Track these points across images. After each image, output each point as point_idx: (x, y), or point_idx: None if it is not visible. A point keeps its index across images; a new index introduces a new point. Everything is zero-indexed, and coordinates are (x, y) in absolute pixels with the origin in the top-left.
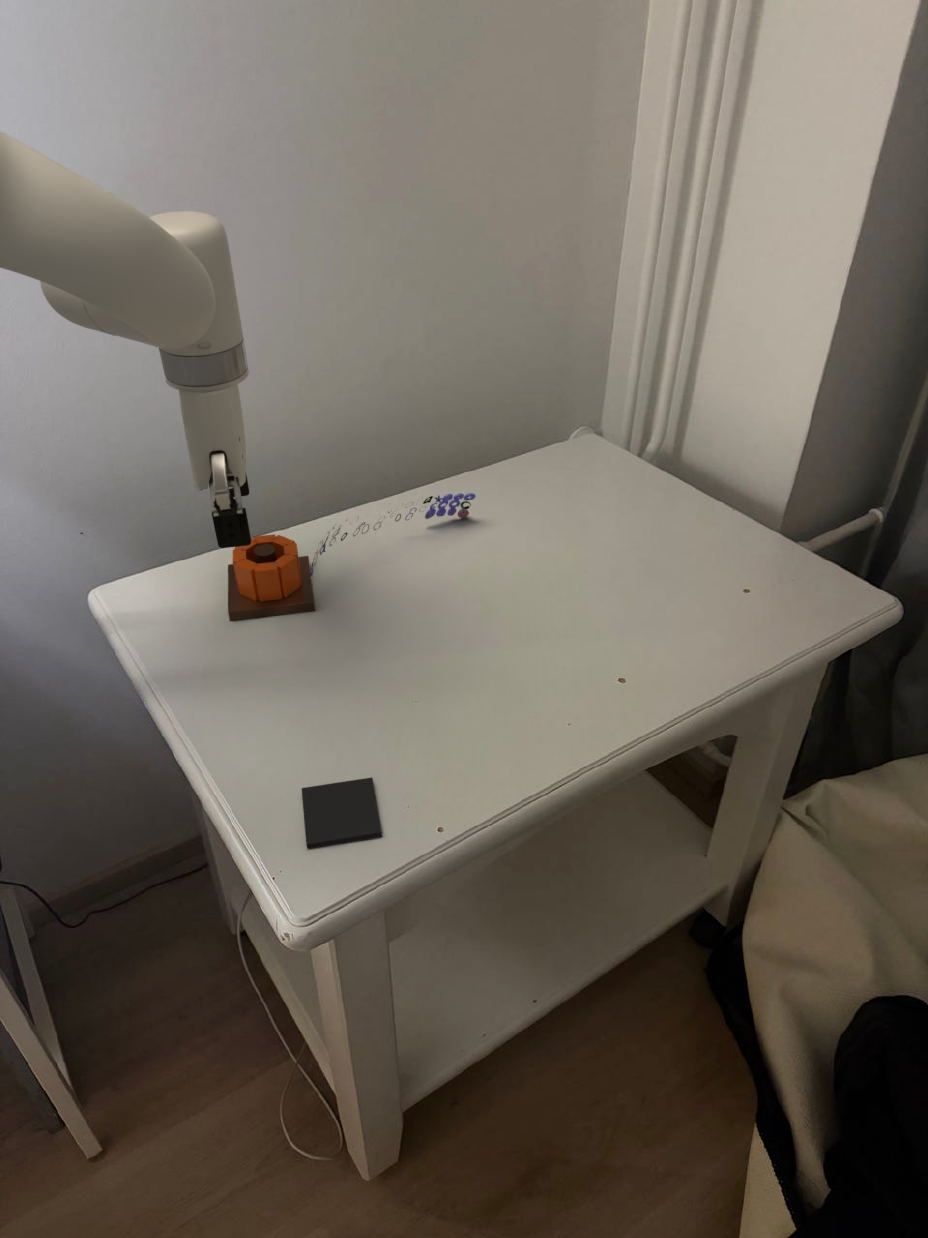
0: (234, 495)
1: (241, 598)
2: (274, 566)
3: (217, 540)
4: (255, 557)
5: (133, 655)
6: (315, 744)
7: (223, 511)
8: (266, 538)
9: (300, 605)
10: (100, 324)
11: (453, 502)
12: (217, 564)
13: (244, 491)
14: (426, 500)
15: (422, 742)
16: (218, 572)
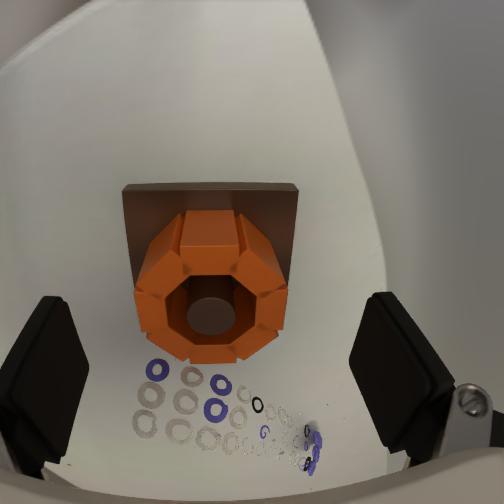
0: (360, 334)
1: (163, 216)
2: (150, 327)
3: (33, 311)
4: (203, 289)
5: (62, 24)
6: None
7: None
8: (269, 315)
9: None
10: None
11: (315, 459)
12: (332, 161)
13: (354, 366)
14: (306, 463)
15: None
16: (303, 161)
